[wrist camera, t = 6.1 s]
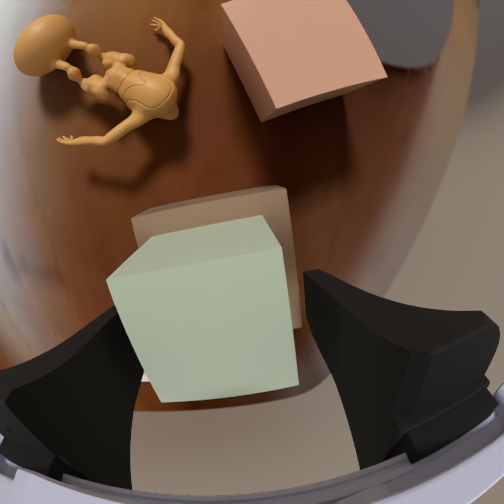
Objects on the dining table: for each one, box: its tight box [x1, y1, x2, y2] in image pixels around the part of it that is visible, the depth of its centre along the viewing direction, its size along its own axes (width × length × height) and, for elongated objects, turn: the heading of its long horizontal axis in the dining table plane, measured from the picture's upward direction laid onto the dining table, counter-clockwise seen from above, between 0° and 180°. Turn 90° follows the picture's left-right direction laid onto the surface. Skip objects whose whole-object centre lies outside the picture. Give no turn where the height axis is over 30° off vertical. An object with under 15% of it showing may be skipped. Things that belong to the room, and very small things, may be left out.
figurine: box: [14, 14, 185, 146], centre depth 10 cm, size 8×6×12 cm
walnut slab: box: [131, 185, 302, 329], centre depth 14 cm, size 7×7×3 cm
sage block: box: [106, 215, 299, 402], centre depth 10 cm, size 5×5×5 cm
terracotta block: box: [221, 0, 387, 123], centre depth 10 cm, size 5×5×5 cm
